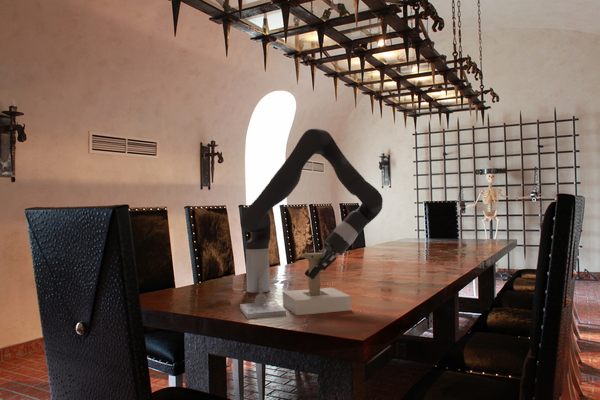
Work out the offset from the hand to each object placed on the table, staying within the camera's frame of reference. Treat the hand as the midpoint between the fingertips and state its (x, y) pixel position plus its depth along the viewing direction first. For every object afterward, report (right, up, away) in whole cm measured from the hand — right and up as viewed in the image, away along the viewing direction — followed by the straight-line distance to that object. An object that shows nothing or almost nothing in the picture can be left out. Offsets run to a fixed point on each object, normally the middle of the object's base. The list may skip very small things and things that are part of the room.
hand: (308, 276), depth 159 cm
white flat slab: (-15, -11, -5) cm, 19 cm away
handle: (+2, -8, 0) cm, 8 cm away
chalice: (-17, -11, +13) cm, 24 cm away
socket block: (+2, -10, -1) cm, 10 cm away
